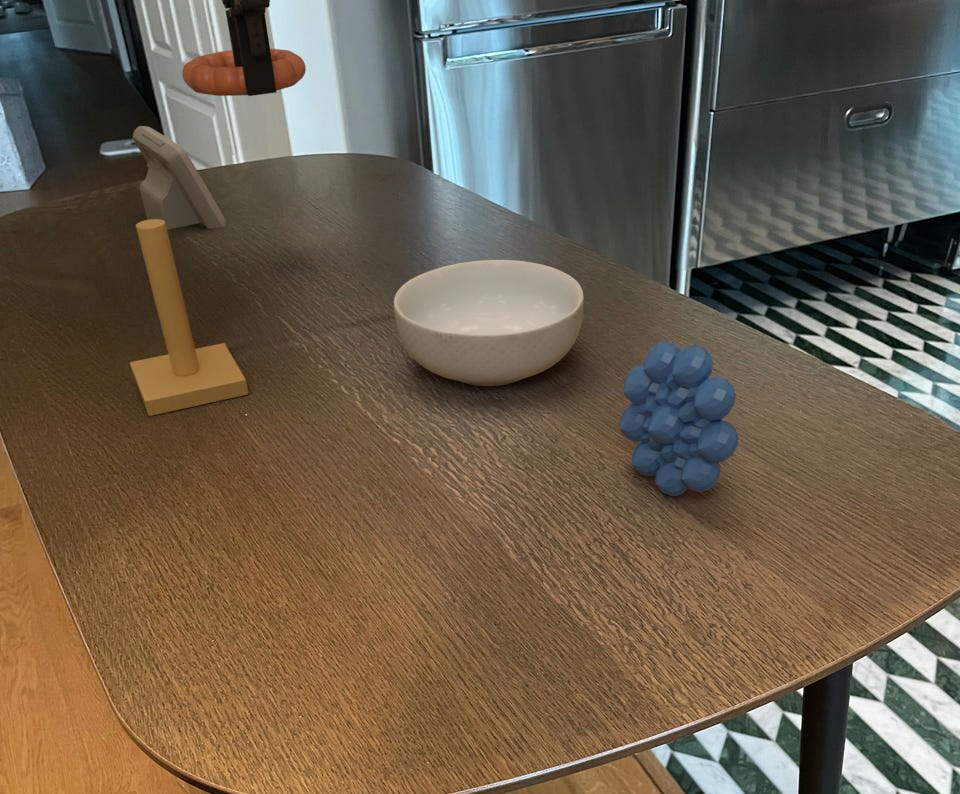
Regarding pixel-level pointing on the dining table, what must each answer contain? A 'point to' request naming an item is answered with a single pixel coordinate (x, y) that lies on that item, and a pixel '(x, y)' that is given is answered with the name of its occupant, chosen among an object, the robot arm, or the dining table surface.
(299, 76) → the ring
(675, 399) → the grapes
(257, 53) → the robot arm
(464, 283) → the cereal bowl
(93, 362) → the dining table surface
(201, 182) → the digital clock
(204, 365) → the peg stand
